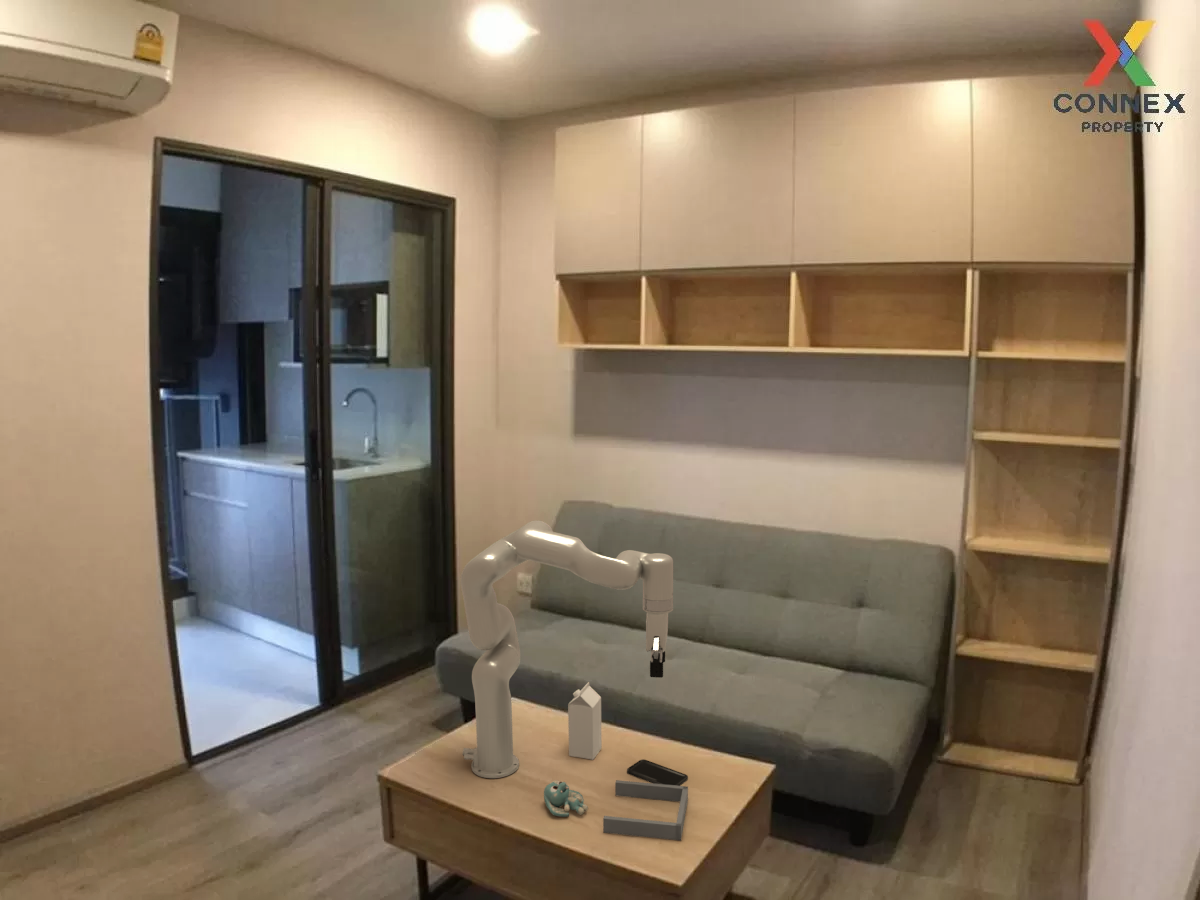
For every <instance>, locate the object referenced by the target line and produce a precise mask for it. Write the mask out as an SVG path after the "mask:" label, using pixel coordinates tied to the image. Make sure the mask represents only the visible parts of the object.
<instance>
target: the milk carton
mask: <svg viewBox="0 0 1200 900" xmlns="http://www.w3.org/2000/svg"><path fill="white" fill-rule="evenodd" d="M572 695H573V698H572V700H570V701H569V703H568V705H567V706H568V707H567V709H568V710H567V715H568V716H567V717H568V718H567V720H568V721H567V722H568V724H567V725H568V756H569V757H572V758H573V757H575V758H579V759H580V758H581V759H587V760H591V761H592V760H593V761H594V760H595V758H596V756H597V755H598V753H599V752H600V751H601V750H602V697H601V696H600V694H598V692H596V690H595V689H593V688H592V687H591V686H590V681H588V682H587V683H586V684H585V685H584V686H583V687H582V688H581V690H580V689H577V690H575V691H574V692H572Z"/></svg>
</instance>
